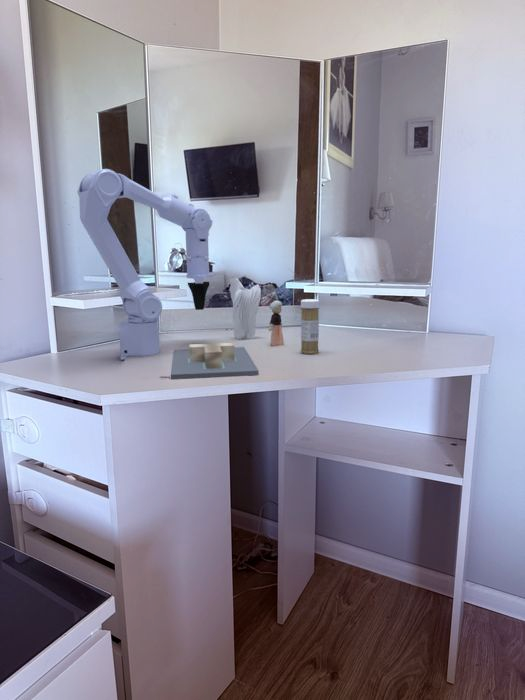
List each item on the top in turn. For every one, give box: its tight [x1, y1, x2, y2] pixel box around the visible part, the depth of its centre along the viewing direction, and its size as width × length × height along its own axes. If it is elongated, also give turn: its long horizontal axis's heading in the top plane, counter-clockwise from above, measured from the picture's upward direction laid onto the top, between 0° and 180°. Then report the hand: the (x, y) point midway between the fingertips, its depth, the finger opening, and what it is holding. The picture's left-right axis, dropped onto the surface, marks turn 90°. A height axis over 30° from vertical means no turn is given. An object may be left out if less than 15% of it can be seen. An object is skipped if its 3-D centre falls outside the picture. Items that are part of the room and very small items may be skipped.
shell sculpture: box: [229, 277, 262, 340], centre depth 138 cm, size 8×8×18 cm
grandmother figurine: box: [268, 300, 285, 347], centre depth 128 cm, size 8×4×13 cm, turn 168°
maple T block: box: [188, 342, 235, 369], centre depth 108 cm, size 10×10×4 cm
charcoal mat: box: [170, 346, 260, 380], centre depth 112 cm, size 18×26×1 cm
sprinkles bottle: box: [300, 298, 320, 355], centre depth 121 cm, size 5×5×14 cm
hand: (199, 309), depth 128 cm, fingers closed
